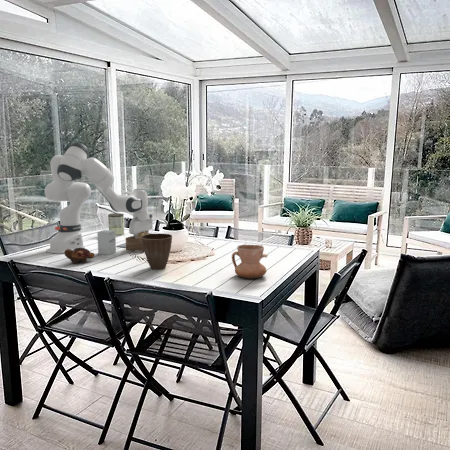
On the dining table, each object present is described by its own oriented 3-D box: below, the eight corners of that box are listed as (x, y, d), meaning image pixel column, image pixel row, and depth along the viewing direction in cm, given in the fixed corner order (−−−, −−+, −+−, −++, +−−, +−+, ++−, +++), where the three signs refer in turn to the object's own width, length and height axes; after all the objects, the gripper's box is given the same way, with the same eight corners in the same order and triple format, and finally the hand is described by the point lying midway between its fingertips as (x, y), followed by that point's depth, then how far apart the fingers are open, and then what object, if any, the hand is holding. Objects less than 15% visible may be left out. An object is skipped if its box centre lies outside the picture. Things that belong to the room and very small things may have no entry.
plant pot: (144, 272, 215) (143, 240, 212) (140, 265, 229) (139, 234, 226) (175, 270, 219) (174, 238, 216) (170, 263, 233) (169, 232, 231)
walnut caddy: (146, 251, 259) (146, 239, 257) (125, 249, 264) (125, 237, 263) (162, 245, 275) (162, 234, 274) (142, 243, 280) (142, 232, 279)
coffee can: (106, 234, 311) (105, 214, 308) (120, 232, 317) (119, 212, 315) (113, 236, 303) (112, 215, 301) (127, 234, 309) (126, 214, 307)
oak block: (142, 243, 267) (142, 233, 266) (135, 242, 268) (135, 233, 267) (147, 241, 271) (147, 232, 270) (140, 241, 273) (140, 231, 272)
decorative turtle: (61, 263, 233) (61, 247, 233) (89, 260, 243) (89, 245, 242) (68, 266, 226) (68, 250, 225) (97, 263, 236) (97, 247, 235)
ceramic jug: (273, 275, 211) (273, 245, 209) (260, 282, 198) (260, 251, 196) (239, 270, 220) (239, 242, 218) (224, 277, 207) (224, 247, 205)
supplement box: (109, 255, 251) (108, 232, 249) (97, 254, 254) (96, 231, 251) (116, 252, 258) (115, 230, 256) (105, 251, 260) (104, 229, 258)
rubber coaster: (128, 248, 268) (128, 247, 268) (116, 246, 272) (116, 245, 272) (137, 245, 277) (137, 244, 276) (125, 243, 280) (125, 242, 280)
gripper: (135, 219, 256) (136, 243, 259) (154, 214, 275) (154, 236, 277) (126, 218, 259) (126, 242, 261) (145, 213, 277) (146, 235, 280)
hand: (141, 239), depth 269 cm, fingers open, 8 cm apart
